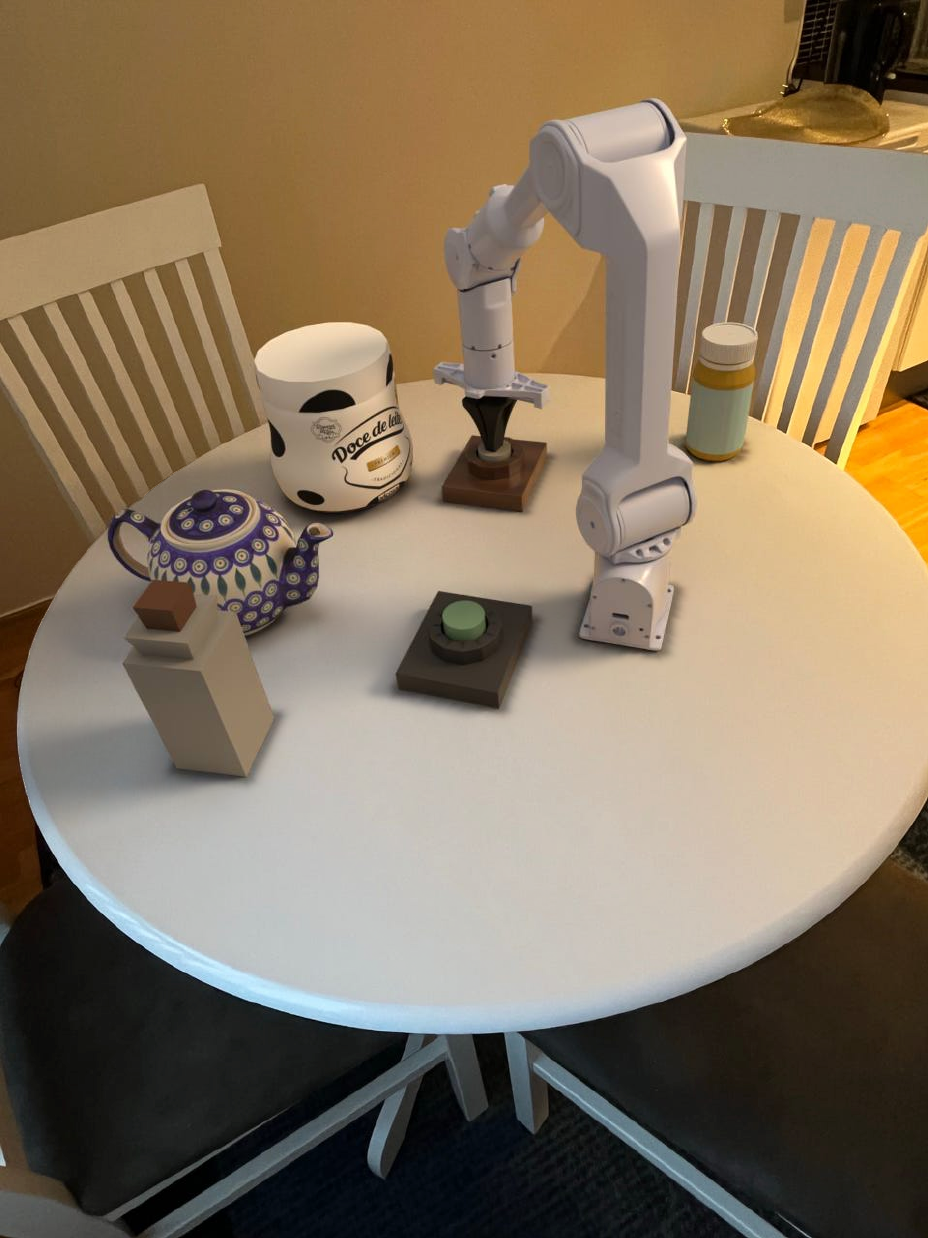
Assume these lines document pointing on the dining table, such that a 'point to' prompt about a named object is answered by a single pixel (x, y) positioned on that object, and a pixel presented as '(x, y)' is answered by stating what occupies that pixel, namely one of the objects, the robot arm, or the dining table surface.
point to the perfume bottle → (197, 679)
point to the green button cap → (464, 621)
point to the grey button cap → (495, 453)
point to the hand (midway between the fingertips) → (494, 447)
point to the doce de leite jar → (334, 416)
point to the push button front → (466, 653)
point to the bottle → (721, 391)
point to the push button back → (495, 476)
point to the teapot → (228, 553)
